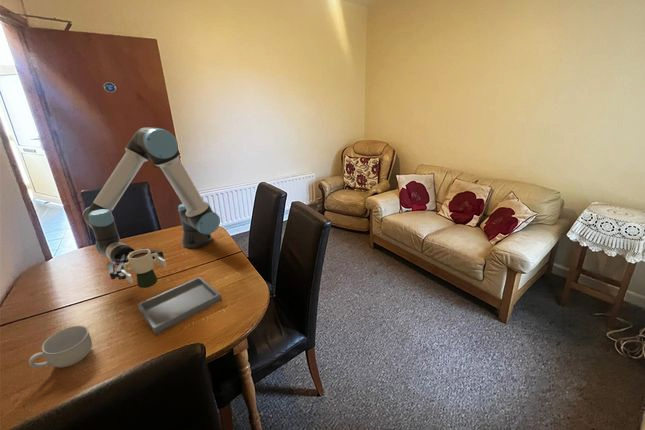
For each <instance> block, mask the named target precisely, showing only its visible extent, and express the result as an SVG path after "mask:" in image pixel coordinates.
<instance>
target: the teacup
mask: <svg viewBox="0 0 645 430" xmlns="http://www.w3.org/2000/svg"><path fill="white" fill-rule="evenodd" d="M92 347H93V342H92V337H91V335H90V331H89V329H88V327H87V326H85V325H74V326H73V325H72V326H68V327H65V328H63V329H60V330H59V331H56V332H54V333H52V335H50V336H48V338H47V339H46V340H45V341H44V342H43V343H42V345H41V350H42V351H40V352H36V353H34V354H33V355H32V356H30V357H29V359H28V365H29V366H30V367H32V368H36V369H37V368H42V367H52V366H53V367H54V368H66V367H71V366H73V365H76V364H77V363H80V362H81V361H82V360H84V358H85V357H87V356H88V354H89V353H90V352H91V350H92ZM40 357H41V358H43V359H46V361H44V362H38V363H37V362H35V360H36V359H37V358H40Z"/></svg>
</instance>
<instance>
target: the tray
mask: <svg viewBox="0 0 645 430" xmlns="http://www.w3.org/2000/svg"><path fill="white" fill-rule="evenodd" d="M222 301H223V299H222V295H221V293H220V292H218V290H216V289H215V288H214V287H213V286H212V285H210V284H209V283H208V282H207V281H205V279H204V278H202V277H201V276H198V277H196V278H193V279H191V280H189V281H187V282H184V283H182V284H179V285H178V286H175V287H173V288H171V289H167V290H166V291H164V292H162V293H160V294H157V295H154V296H153V297H150V298H148V299H144V300H143V301H141V302H139V303H137V304H136V305H137V308H138V311H139V312H140V314H141V315H142V317H143V318H144V320H145V321H146V322H147V324H148V325H149V327H150V329H151V331H152V332H153V333H154V334H155V336H157V335H159V334H161V333H164V331H167V330H169V329H171V328H173V327H174V326H176V325H178V324H181V323H182V322H184V321H186V320H188V319H190V318H192V317H193V316H195V315H197V314H200V313H201V312H203V311H205V310H207V309H210V308H211V307H212V305H213V306H214V305H217V304H218V303H220V302H222ZM210 306H211V307H210Z"/></svg>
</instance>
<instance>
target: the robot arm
mask: <svg viewBox="0 0 645 430" xmlns="http://www.w3.org/2000/svg"><path fill="white" fill-rule="evenodd" d="M124 150H125V153H124V155H123V156H122V158H121V159H120V161H119V162H118V163H117V165H116V166H115V168H114V170H113V171H112V172H111V175H110V176H109V178H108V179H107V180H106V182H105V184H104V185H103V187H102V188H101V190H100V191H99V192H98V194H97V196H96V197H95V199H94V200H93V201H92V203H91V204H90V206H88V207H86V208H85V209H84V210H83V212H82V219H83V220H84V223H86V224H87V225H88V226H89V228H91V229H92V231H93V235H94V237H95V247H94V248H95V250H96V251H97V252H98V253H99V254H101V256H104V257H106V258H107V259H109V260H110V261H107V262H105V264H106V266H107V268H108V269H107V270H108V272H109V276H110V279H111V281H112V280H115V279H116V278H117V279H118V280H126V281H127V282H129V283H130V284H133V283H134V278H133V276H132V274H131V273H129V271H128V272H126V271H125V270H124V267H123V264H124V263H127V262H129V261H128V255H129V254H130V253H131V252H133V251H136V250H135V249H134V248H133V247H131V246H129V245H128V244H126V243H124V242H122V241H121V238H120V235H119V232H118V229H117V225H116V221H115V217H114V216H113V213H112V212H113V210H114V209H115V207H116V206H117V204H118V202H119V201H120V200H121V198H122V197H123V195H124V193H125V192H126V190H127V188H128V187H129V185H130V184H131V183H132V181H133V180H134V178H135V176H136V175H137V173H138V172H139V171H140V169H141V168H142V166H143V164H144V163H145V162H148V161H149V160H150V161H151V162H152V164H153V165H154V166H156V167H159V168H160V170H161V171H162V173H163V174H164V176H165V178H166V179H167V181H168V182H169V184H170V185H171V187H172V188H173V190H174V191H175V194H176V195H177V196H178V199H179V200H180V202H181V204H179V205H178V206H177V208H178V211H177V212H178V214H179V219H180V222H181V223H180V224H181V227H182V230H183V231H182V232H183V233H182V239H181V243H182V246H183V248H188V249H195V248H196V249H197V248H201V247H204V246H206V245H208V244H210V243H211V242H212V240H213V237H212V234H213V233H215V232H216V231H217V230H218V228H220V224H221V219H220V218H221V217H220V216H219V215H218V213H216V212H214V210H212V207H211V206H210V204H209V202H207V201H204V200H203V198H202V197H201V194H200V192H199V191H198V189H197V187H196V185H195V183H194V182H193V181H192V179H191V177H190V175H189V174H188V172H187V170H186V168H185V166H184V165H183V164H182V162H181V160H180V156H181V153H180V151H179V145H178V141H177V138H176V137H175V136H174V134H172V133H171V132H170V131H169V130H166V129H164V128H161V127H150V126H147V127H146V126H145V127H142V128H139V129H138V130H137V131H136V132H134V134H133V136H132V137H131V139H130V140H129V142H128V143H127V145H126V146H125V148H124ZM142 249H149V248H147V247H143V248H142ZM149 250H150V251H151V254H153V253H157V254H158V257H159V260H158V261H156V262H155V263H157V264H158V265H160V266H161V267H164V268H168V264H167V262H166V259H165V256H164V253H163V251H162V250H157V249H156V250H155V249H149ZM152 258H153V260H154V259H156V258H155V256H152ZM111 261H112V262H111ZM116 266H117V268H116V270H115V267H116Z"/></svg>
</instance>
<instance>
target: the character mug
mask: <svg viewBox="0 0 645 430" xmlns="http://www.w3.org/2000/svg"><path fill="white" fill-rule="evenodd" d="M150 250H151V249H150ZM150 250H149V248H147V249H143V248H140V249H136V250H135V251H133V252H131V253H130V254H129V255H128V261H129V262H127V263H124V264H123V267H124V270H125V271H126V272H128V273H129V272H130V271H131V272H132V273H134V274H136V283H137V287H138V288H141V289H147V288H151V287H153V286H154V285H156V284H157V282H158V277H157V275H156V273H155V271H154V267H155V263H156V261H158V260H159V257H158V254H157V253H153V254H151V251H150ZM152 256H155V258H156V259H154V260H153V258H152ZM128 266H129V267H128Z"/></svg>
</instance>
